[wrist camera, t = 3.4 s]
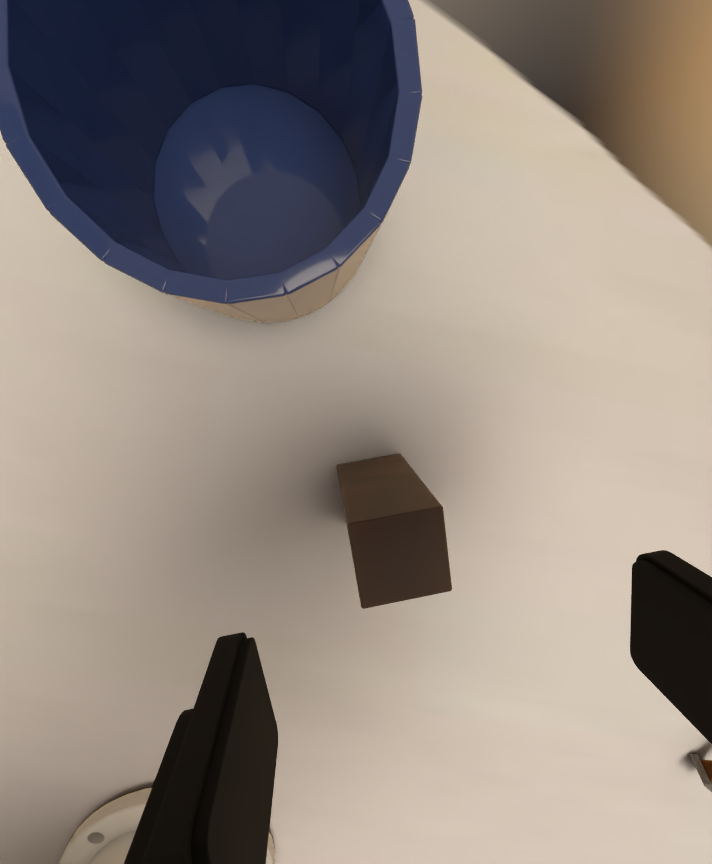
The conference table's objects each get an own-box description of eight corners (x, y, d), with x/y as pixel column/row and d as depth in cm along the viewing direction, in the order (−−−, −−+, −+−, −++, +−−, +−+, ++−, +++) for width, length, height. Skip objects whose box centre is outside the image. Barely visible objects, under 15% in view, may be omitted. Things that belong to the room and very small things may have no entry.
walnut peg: (346, 524, 21) (361, 610, 14) (336, 464, 20) (346, 524, 13) (408, 512, 21) (452, 591, 14) (400, 453, 20) (443, 506, 13)
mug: (385, 305, 19) (440, 272, 10) (178, 337, 18) (61, 329, 10) (340, -40, 16) (367, -475, 7) (89, -16, 15) (-190, -464, 7)
